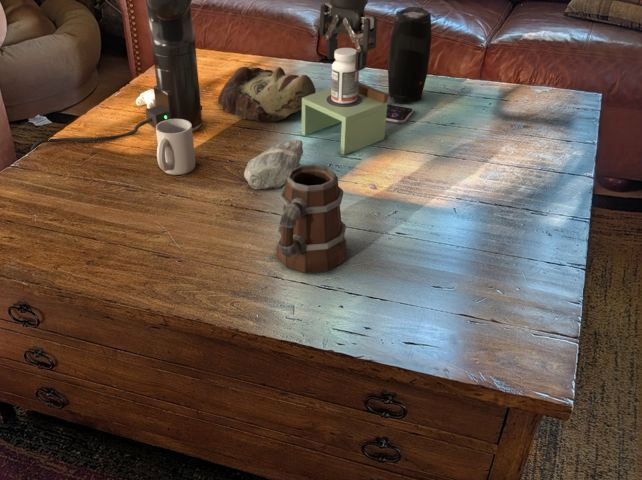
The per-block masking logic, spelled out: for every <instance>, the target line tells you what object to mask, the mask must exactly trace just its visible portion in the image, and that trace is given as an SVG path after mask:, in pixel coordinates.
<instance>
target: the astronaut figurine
mask: <svg viewBox="0 0 642 480" xmlns="http://www.w3.org/2000/svg"><path fill="white" fill-rule="evenodd" d="M135 104H136V106H138V107H142V106H145V105H146V108H147V109H149V108H153V107H156V103H155V95H154V88H151V89H148V90H145V91H143V92H141V93H140V94H139V96H138V97H137V98H136V100H135Z"/></svg>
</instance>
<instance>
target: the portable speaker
mask: <svg viewBox="0 0 642 480" xmlns="http://www.w3.org/2000/svg"><path fill="white" fill-rule="evenodd" d="M431 14H432V13H431V12H429V11H428V10H426V9H425V8H423V7H421V6H407V7H405V8H403V9H402V10H398V11H395V18H394V22H393V26H392V31H391V35H390V39H389V50H388V59H387V60H388V62H387V81H388V82H387V84H388V95H390V97H391V98H392V100H393V101H394V103H398V104H409V103H411V101H413V100H415V99H417V100H421V98H422V94H423V93H424V88H425V85H426V81H427V76H428V72H429V65H430V64H429V63H430V55H431V47H432V40H433V39H432V36H433V35H432V15H431Z"/></svg>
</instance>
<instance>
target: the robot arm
mask: <svg viewBox="0 0 642 480" xmlns="http://www.w3.org/2000/svg"><path fill="white" fill-rule="evenodd" d="M368 3H369V0H329V2H325V3H322V4H320V13H319V28H318V29H319V30H318V33H319V35H320V36H324V39H325V40H326V59H327V60H330V61H332V60H336V59H335V58H334V53H335V50H337V49H338V44H339V43H338V41H339V39H337V38H338V36H339V35H340V34H344V35H346V36H347V37H349V39H350V42H351V43H353V45H354V47H355V50H357V51H356V60H355V69H356V70H358V71H359V72H360V71H362V70H364V69H365V68H366V67H367V63H368V62H367V61H368V51H371V50H374V49H376V47H377V24H378V17H376V16H375V15H373V16H367V15H366V13H365V8H366V6H367V5H368ZM191 4H192V0H145V7H146V12H147V13H146V16H147V22H148V30H149V37H150V42H151V49H152V50H151V51H152V57H153V64H154V65H153V66H154V73H155V80H156V85H154V86H153V89H154V95H155V103H156V107H153V108H149V109H148V108H147V109H145V117H146V119H145V120H143V121H140V122H138V123H137V124H136V125H135V126H134V128H133V129H132V130H130V131H128V132H126V133H122V134H117V135H109V136H99V137H98V136H97V137H59V138H43V139H39V140H37V141H36V142H35V143H34V144H33V145H31V147H30V151H31V150H32V151H33V150H36V149H37V147H38V146H40V145H41V144H46V143H63V142H82V143H83V142H84V143H85V142H90V143H91V142H92V143H93V142H100V141H101V142H103V141H111V140H116V139H121V138H123V137H127V136H132V135H134V134H136V133H137V132H138V130H139V129H140V128H141V127H142V126H145V125H147V124H148V125H149V126H151V127H153V128H154V129H156V125H157V124H158V123H160V122H162V121H165V120H169V119H184V120H187V121H189V122H190V123H191V125H192V133H193V134H194V133H197V132H198V131H200V130H201V129H202V128H203V126H204V120H203V115H202V112H203V106H202V104H201V103H202V102H201V93H200V81H199V71H198V59H197V58H198V57H197V49H196V37H195V36H196V35H195V30H194V25H193V24H194V23H193V17H192V6H191ZM49 139H50V140H49ZM48 140H49V141H48Z"/></svg>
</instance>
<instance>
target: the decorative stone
mask: <svg viewBox="0 0 642 480" xmlns="http://www.w3.org/2000/svg"><path fill="white" fill-rule="evenodd" d="M303 145H304V143H303V141H302V140H301V139H300V140H299V139H297V140H289V141H282V142H279V143H278V144H273V145H272V146H270V147H268V148H267V149H265V150H264V151H262V152H260V153H259V154H258V155H256V156H255V157H253V158H251V159H249V160H248V162H247V165H246V167H245V169H244V172H243V177H244V179H245V180H246V182H247V184H248V187H250V188H252V189H254V190H267V189H278V188H281V187H282V186H285V184H286V180H287V177H288V175H289V173H290V171H291V170H293V169H295V168H297V167H299V165H300V162H301V159H302V156H303V154H304V147H303Z"/></svg>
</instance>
